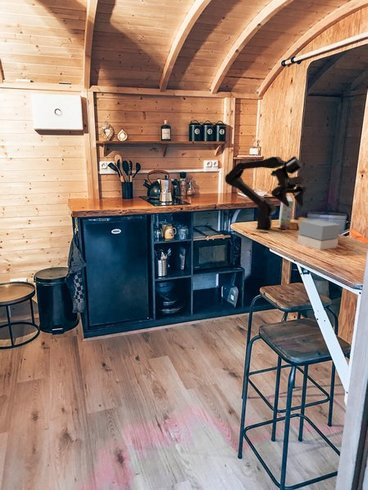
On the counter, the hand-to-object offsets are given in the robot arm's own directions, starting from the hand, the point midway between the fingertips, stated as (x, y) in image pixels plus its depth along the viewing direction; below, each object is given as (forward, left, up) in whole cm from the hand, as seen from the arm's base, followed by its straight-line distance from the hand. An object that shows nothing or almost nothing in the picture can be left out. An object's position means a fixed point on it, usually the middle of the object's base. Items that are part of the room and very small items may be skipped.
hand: (295, 206), depth 186 cm
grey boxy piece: (+11, -11, -10) cm, 19 cm away
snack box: (-8, +24, -15) cm, 30 cm away
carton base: (+13, -13, -15) cm, 23 cm away
